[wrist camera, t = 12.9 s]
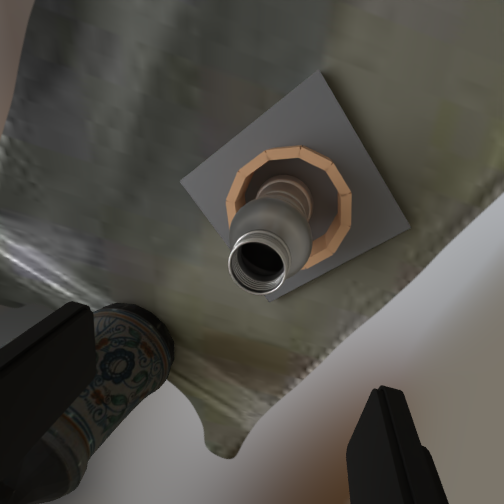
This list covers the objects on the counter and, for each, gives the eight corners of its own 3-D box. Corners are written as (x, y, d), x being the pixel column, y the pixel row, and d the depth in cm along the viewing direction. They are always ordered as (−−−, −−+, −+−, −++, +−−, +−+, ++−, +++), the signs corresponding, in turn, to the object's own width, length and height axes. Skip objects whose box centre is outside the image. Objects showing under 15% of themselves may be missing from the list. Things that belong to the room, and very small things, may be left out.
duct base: (318, 71, 32) (319, 57, 26) (407, 224, 36) (426, 241, 30) (184, 179, 39) (161, 187, 33) (270, 296, 43) (263, 322, 37)
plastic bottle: (296, 161, 34) (275, 191, 16) (323, 212, 36) (332, 293, 18) (249, 189, 37) (183, 244, 18) (276, 236, 38) (241, 330, 20)
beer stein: (140, 393, 56) (19, 573, 33) (59, 321, 53) (-133, 463, 30) (197, 351, 49) (96, 538, 27) (109, 267, 47) (-87, 395, 24)
